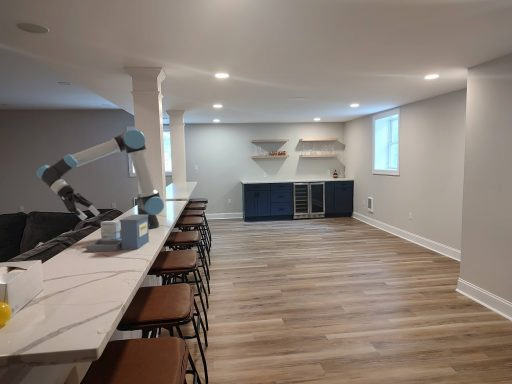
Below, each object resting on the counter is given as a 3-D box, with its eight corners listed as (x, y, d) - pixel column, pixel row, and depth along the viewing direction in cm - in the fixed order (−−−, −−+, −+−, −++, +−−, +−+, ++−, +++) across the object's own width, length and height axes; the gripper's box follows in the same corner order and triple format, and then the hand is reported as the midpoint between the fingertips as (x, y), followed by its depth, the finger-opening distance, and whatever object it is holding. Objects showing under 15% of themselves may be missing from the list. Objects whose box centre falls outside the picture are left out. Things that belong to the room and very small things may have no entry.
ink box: (121, 241, 175) (120, 220, 174) (116, 243, 170) (115, 222, 169) (106, 241, 176) (105, 220, 175) (101, 243, 171) (99, 222, 170)
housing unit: (134, 241, 175) (132, 214, 174) (149, 241, 175) (148, 214, 174) (121, 249, 159) (119, 219, 157) (138, 249, 159) (137, 219, 157)
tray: (98, 245, 167) (97, 240, 166) (125, 245, 166) (125, 239, 166) (87, 251, 156) (86, 245, 156) (116, 251, 156) (116, 245, 155)
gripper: (52, 186, 158) (83, 215, 159) (80, 183, 183) (107, 208, 184) (42, 196, 159) (73, 226, 160) (72, 192, 184) (99, 217, 185)
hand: (92, 216), depth 172 cm, fingers open, 13 cm apart
